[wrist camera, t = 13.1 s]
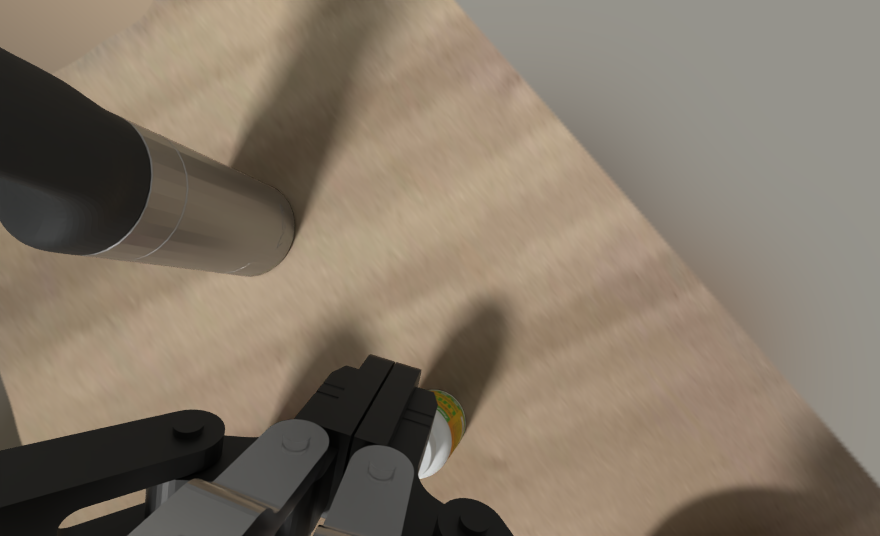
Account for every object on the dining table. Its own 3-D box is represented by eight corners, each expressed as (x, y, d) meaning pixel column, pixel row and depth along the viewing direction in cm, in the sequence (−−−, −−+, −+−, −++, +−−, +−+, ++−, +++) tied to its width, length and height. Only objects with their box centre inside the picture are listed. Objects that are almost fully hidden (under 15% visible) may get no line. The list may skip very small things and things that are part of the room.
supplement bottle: (473, 398, 41) (450, 423, 32) (458, 461, 41) (431, 505, 32) (414, 381, 42) (375, 400, 33) (399, 441, 42) (356, 478, 33)
